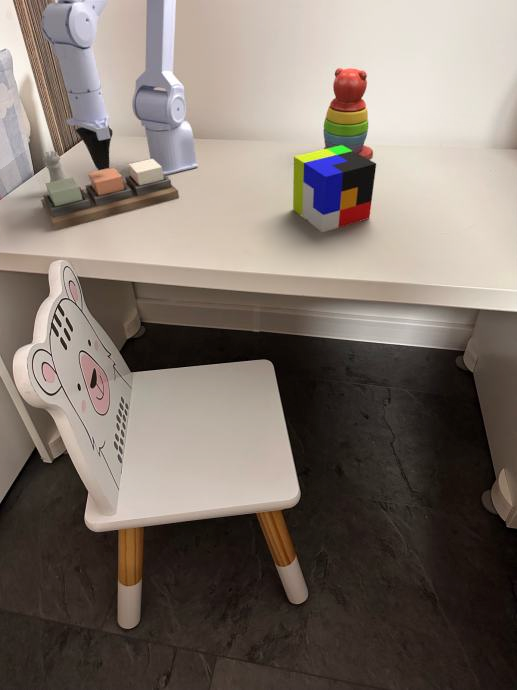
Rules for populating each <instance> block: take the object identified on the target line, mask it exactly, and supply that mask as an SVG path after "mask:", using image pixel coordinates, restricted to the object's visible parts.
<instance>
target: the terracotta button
mask: <svg viewBox="0 0 517 690" xmlns="http://www.w3.org/2000/svg"><path fill="white" fill-rule="evenodd" d="M87 174H88V178H89V181H90V184H91V186H92V187H93V189H94V190H95V191H96V193H97V194H98V195H99V196H100V195H104V194H108V193H112V192H116V191H120V190H124V185H123V180H124V179H123V177H122V175H121V174H120V173H119V171H118V170H116V169H115V167H111V168H110V167H109V168H107V169H103V170H98V171H94V172H89V173H87Z"/></svg>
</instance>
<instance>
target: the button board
mask: <svg viewBox="0 0 517 690" xmlns="http://www.w3.org/2000/svg"><path fill="white" fill-rule="evenodd" d="M163 177H164V180H160V181H156V182H152V183H148V184H144V185H139V184H138V183H137V182H136V181H135V180H134V179H133V178H132V177H131V174H127V175H124V179H122V180H123V185H124V190H120V191H116V192H112V193H108V194H104V195H100V196H99V195H98V194H97V193H96V191H95V190H94V189H93V187H92V186H91V183H90V184H86V185H84V187H85V188H83V189H82V188H81V186H79V188H80V192H81V195H82V199H83V200H79V201H75V202H71V203H67V204H63V205H59V206H55V205H54V203H53V201H52V200H51V198H50V196H49V193H46V194H44V195H42V197H43V198H42V199H40V201H41V205H42V208H43V210H44V211H45V213H46V215H47V217H48V219H49V220H50V222H51V224H52V226H53V228H54V229H55V231H59V230H62V229H66V228H69V227H74V226H76V225H81V224H84V223H88V222H92V221H96V220H102V219H104V218H108V217H111V216H115V215H119V214H123V213H127V212H131V211H134V210H138V209H142V208H145V207H149V206H153V205H157V204H161V203H164V202H168V201H172V200H175V199H179V198H180V194H179V190H178V189H177V188H176V187H175V186H174V185H173V184H172V182H171V179H170V178H169V177H168V175H165V174H163Z"/></svg>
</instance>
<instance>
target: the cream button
mask: <svg viewBox="0 0 517 690" xmlns="http://www.w3.org/2000/svg"><path fill="white" fill-rule="evenodd" d="M128 168H129V173H130V175H131V177H132V178H133V179H134V180H135V181H136V182H137V183H138V184H139V185H144V184H148V183H152V182H156V181H160V180H164V177H163V171H162V167H161V166H160V165H159V164H158V163H157V162H156V161H155V160H154V159H150V158H149V159H146V160H141V161H137V162H133V163H132V162H131V163H128Z"/></svg>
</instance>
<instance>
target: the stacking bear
mask: <svg viewBox="0 0 517 690" xmlns="http://www.w3.org/2000/svg"><path fill="white" fill-rule="evenodd" d="M334 76H335V78H334V80H333V85H332V86H333V87H332V88H333V90H332V91H333V94H334V96H335V97H334V98H333V99H332V100H331V101H330V103H329V106H328V109H327V111H326V115H325V119H324V123H323V137H324V138H323V140H324V147H323V149H328V148H332V147H336V146H340V145H343V146H344V147H346V148H348V149H350V150H352V151H354V152H356V153H357V154H359V155H361V156H363V157H365V158H367V159H369V160H370V159H371V158H372V157H373V156H374V151H373V149H372V147H370V146H367V145H364V144H365V141H366V139H367V135H368V131H369V119H368V115H369V113H368V108H367V104H366V102H365V100H364V99H363V96H364V95H365V93H366V90H367V85H368V81H367V77H368V74H367V73H366V71H365V70H363V69H361V70H360V69H357V68H345V69H343V68H342V67H338V68H337V69H335V71H334Z"/></svg>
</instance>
